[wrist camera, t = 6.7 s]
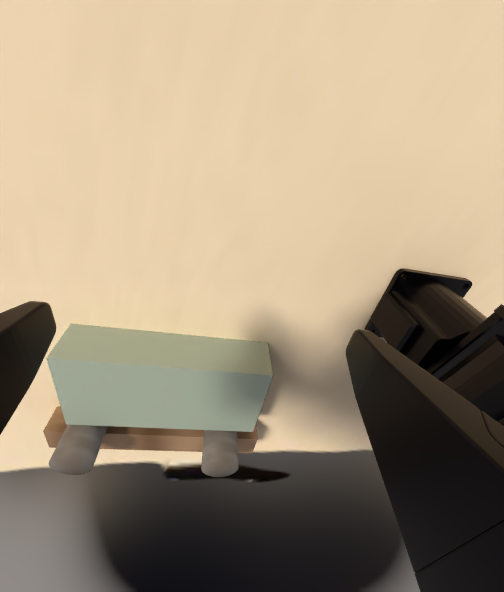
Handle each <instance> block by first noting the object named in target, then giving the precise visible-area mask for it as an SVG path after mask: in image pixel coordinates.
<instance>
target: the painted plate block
mask: <svg viewBox="0 0 504 592" xmlns="http://www.w3.org/2000/svg"><path fill="white" fill-rule="evenodd" d="M47 361H48V365H49V368H50V372H51V375H52V378H53V382H54V385H55V389H56V392H57V395H58V399H59V402H60V405H61V409H62V412H63V416H64V419H65V422H66V425H91V426H116V427H142V428H167V429H192V430H217V431H242V432H253V430H254V427H255V425H256V422H257V419H258V416H259V414H260V411H261V408H262V405H263V402H264V400H265V397H266V394H267V391H268V388H269V386H270V383H271V380H272V377H273V371H272V365H271V359H270V353H269V347H268V343H266V342H256V341H245V340H235V339H224V338H214V337H204V336H193V335H183V334H173V333H162V332H152V331H142V330H131V329H121V328H110V327H100V326H90V325H79V324H70V326H69V327H68V329H67V330H66V331H65V333H64V334H63V336H62V337H61V338H60V340H59V341H58V343H57V344H56V346H55V347H54V348H53V350H52V351H51V353H50V354H49V355H48V357H47Z"/></svg>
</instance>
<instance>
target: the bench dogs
mask: <svg viewBox="0 0 504 592" xmlns="http://www.w3.org/2000/svg"><path fill="white" fill-rule="evenodd" d="M43 432H44V434H45V437H46V440H47V443H48V445H49V447H55V448H56V449H55V451H54V453H53V455H52V457H51V459H50V461H49V466H50V467H51V468H52V469H53V470H55V471H57V472H60V473H63V474H69V475H80V474H85V473H88V472H90V471H91V470H92V468H93V465H94V462H95V460H96V457H97V454H98V452H99V449H125V450H159V451H194V452H203V455H202V472H203V473H204V474H206V475H209V476H213V477H223V476H228V475H231V474H233V473H235V472H236V471H237V469H238V453H252V452H253V449H254V447H255V444H256V442H257V429H256V425H255V427H254V430H253V432H242V431H217V430H192V429H167V428H142V427H116V426H91V425H66V422H65V419H64V416H63V412H62V409H61V407H57V408H56V410H55V411H54V413H53V415H52V417H51V419H50V420H49V422H48V424H47V426H46V427H45V429H44V431H43Z"/></svg>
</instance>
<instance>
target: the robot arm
mask: <svg viewBox="0 0 504 592" xmlns="http://www.w3.org/2000/svg"><path fill="white" fill-rule="evenodd" d="M403 274H404V275H403ZM402 275H403V276H402ZM401 276H402V277H401ZM471 286H472V282H471V281H470V280H468V279H466V278H460V277H454V276H448V275H441V274H435V273H429V272H423V271H416V270H410V269H399V270H398V271H397V272H396V273H395V275H394V276H393V278H392V280H391V282H390V284H389V286H388V287H387V289H386V291H385V293H384V295H383V296H382V298H381V300H380V302H379V304H378V305H377V307H376V309H375V311H374V313H373V314H372V316H371V318H370V320H369V322H368V323H367V325H366V327H365V330H360V329H358V330H356V331H355V332H354V333H353V335H352V337H351V339H350V342H349V344H348V346H347V348H346V357H347V362H348V366H349V371H350V375H351V380H352V384H353V389H354V393H355V397H356V400H357V404H358V407H359V410H360V413H361V416H362V419H363V422H364V425H365V427H366V430H367V433H368V436H369V439H370V442H371V445H372V448H373V451H374V454H375V457H376V460H377V463H378V466H379V469H380V472H381V475H382V478H383V481H384V484H385V487H386V490H387V493H388V496H389V499H390V502H391V505H392V508H393V511H394V514H395V516H396V519H397V522H398V526H399V529H400V531H401V534H402V537H403V540H404V543H405V546H406V549H407V552H408V555H409V558H410V561H411V564H412V567H413V570H414V572H415V577H416V580H417V583H418V585H419V588H420V592H504V305H502V304H501V305H500V306H499V307H498V308H496V309H495V310H494V313H493V314H492V315H491V316H489V317H488V318H486V317H485V316H484V315H483V314H482V313H480V312H479V311H478V310H477V309H475V308H474V307H473V306H472V305H471V304H469V303H468V302H467V301H466V300H464V299H463V297H464V296H465V295H466V293H467V292H468V291H469V289H470V288H471ZM370 330H371V331H370ZM55 332H56V323H55V320H54V317H53V313H52V310H51V307H50V305H49V304H48V303H46V302H37V301H30V302H27V303H24V304H22V305H19V306H17V307H15V308H12V309H10V310H7V311H5V312H2V313H0V434H1V433H2V431H3V430H4V428H5V426H6V425H7V423H8V421H9V420H10V418H11V416H12V415H13V413H14V412H15V410H16V408H17V407H18V405H19V403H20V402H21V400H22V399H23V397H24V395H25V394H26V392H27V390H28V389H29V387H30V385H31V383H32V382H33V380H34V378H35V376H36V374H37V372H38V370H39V367H40V365H41V363H42V361H43V359H44V357H45V354H46V352H47V350H48V348H49V346H50V344H51V342H52V339H53V337H54V335H55ZM379 337H384V339H385V340H386V342H387V343H386V342H385V341H383V340H382V339H381V338H379Z"/></svg>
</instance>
